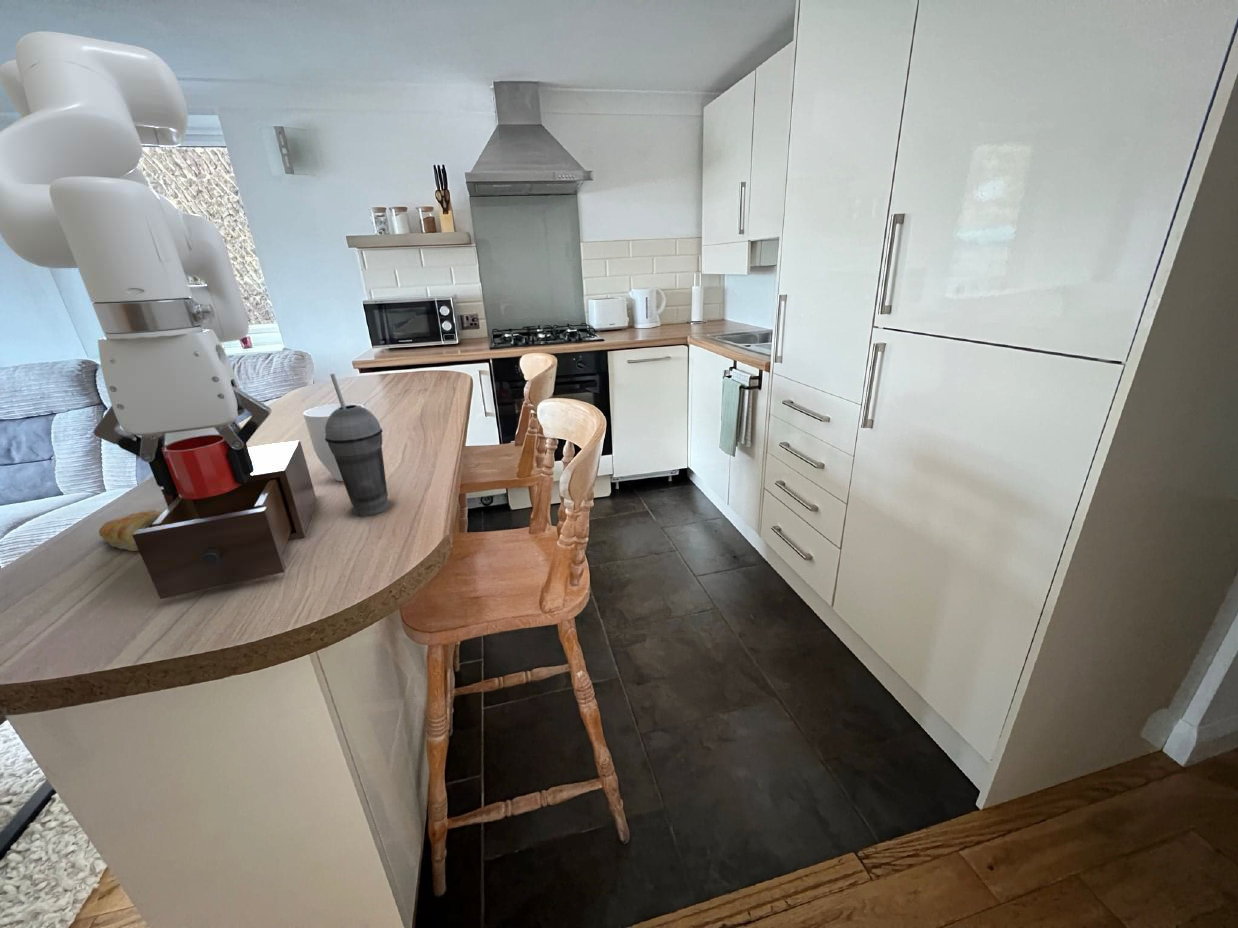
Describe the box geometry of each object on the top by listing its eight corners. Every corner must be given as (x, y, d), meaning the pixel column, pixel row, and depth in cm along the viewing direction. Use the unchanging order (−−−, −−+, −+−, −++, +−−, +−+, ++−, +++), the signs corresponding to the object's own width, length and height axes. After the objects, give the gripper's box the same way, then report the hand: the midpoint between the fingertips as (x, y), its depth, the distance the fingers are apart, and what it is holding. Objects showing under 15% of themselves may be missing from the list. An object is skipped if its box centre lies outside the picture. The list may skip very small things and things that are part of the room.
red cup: (189, 484, 59) (172, 439, 57) (248, 474, 61) (233, 431, 59) (171, 503, 54) (151, 455, 52) (236, 492, 56) (220, 445, 54)
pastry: (85, 547, 66) (73, 522, 65) (140, 524, 73) (130, 500, 71) (141, 553, 64) (129, 527, 63) (192, 528, 71) (183, 504, 69)
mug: (373, 482, 84) (356, 412, 80) (314, 489, 82) (295, 418, 78) (385, 459, 95) (372, 396, 90) (334, 464, 93) (318, 401, 88)
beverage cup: (377, 521, 71) (344, 379, 63) (332, 518, 72) (295, 379, 65) (408, 499, 77) (381, 368, 70) (366, 496, 79) (335, 368, 71)
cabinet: (304, 537, 67) (284, 470, 64) (188, 560, 63) (160, 489, 59) (316, 498, 79) (300, 440, 75) (219, 515, 74) (197, 454, 71)
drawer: (282, 577, 57) (262, 515, 54) (155, 605, 52) (126, 540, 50) (300, 525, 68) (284, 472, 65) (197, 545, 64) (175, 489, 61)
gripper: (260, 311, 57) (302, 461, 63) (58, 323, 51) (128, 487, 57) (244, 316, 50) (293, 482, 57) (11, 330, 44) (96, 514, 51)
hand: (210, 483), depth 57 cm, fingers closed on red cup, 5 cm apart
